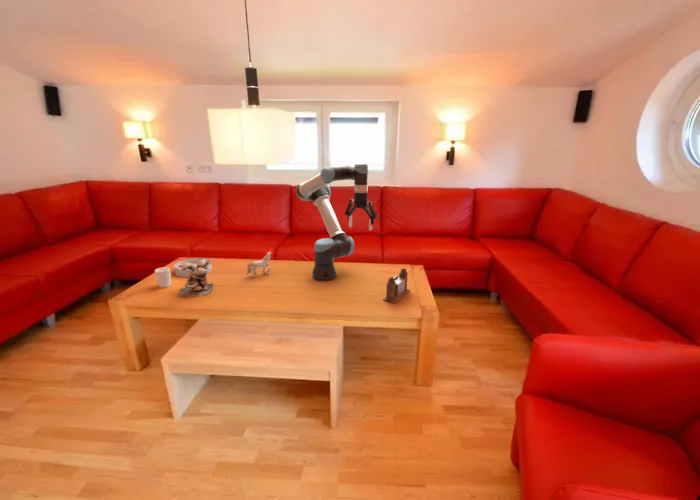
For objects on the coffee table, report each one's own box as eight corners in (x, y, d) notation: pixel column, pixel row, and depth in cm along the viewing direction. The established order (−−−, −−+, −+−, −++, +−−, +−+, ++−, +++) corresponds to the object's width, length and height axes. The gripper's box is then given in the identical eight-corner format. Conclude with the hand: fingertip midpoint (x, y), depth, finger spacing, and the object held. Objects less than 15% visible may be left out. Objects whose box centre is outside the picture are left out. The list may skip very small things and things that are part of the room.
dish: (217, 271, 233) (216, 263, 231) (182, 280, 218) (181, 272, 217) (203, 262, 248) (202, 255, 246) (169, 270, 233) (168, 263, 232)
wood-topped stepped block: (388, 295, 196) (389, 280, 193) (396, 290, 203) (396, 275, 200) (397, 298, 194) (398, 282, 191) (404, 292, 201) (405, 276, 198)
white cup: (167, 281, 215) (164, 266, 212) (175, 284, 211) (172, 268, 208) (154, 286, 209) (151, 270, 206) (162, 289, 205) (160, 273, 202)
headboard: (383, 300, 193) (384, 277, 189) (398, 288, 208) (399, 266, 204) (395, 303, 189) (396, 279, 185) (409, 290, 205) (410, 268, 200)
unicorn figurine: (278, 271, 232) (277, 252, 228) (252, 280, 218) (251, 259, 214) (272, 268, 236) (270, 249, 232) (246, 277, 223) (244, 256, 218)
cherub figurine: (176, 298, 194) (171, 267, 188) (181, 285, 210) (177, 256, 205) (211, 295, 198) (207, 264, 193) (214, 282, 215) (210, 254, 209)
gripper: (338, 190, 205) (338, 226, 212) (377, 194, 192) (376, 233, 199) (345, 189, 211) (345, 224, 218) (383, 193, 198) (382, 230, 205)
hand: (360, 228), depth 208 cm, fingers open, 13 cm apart
